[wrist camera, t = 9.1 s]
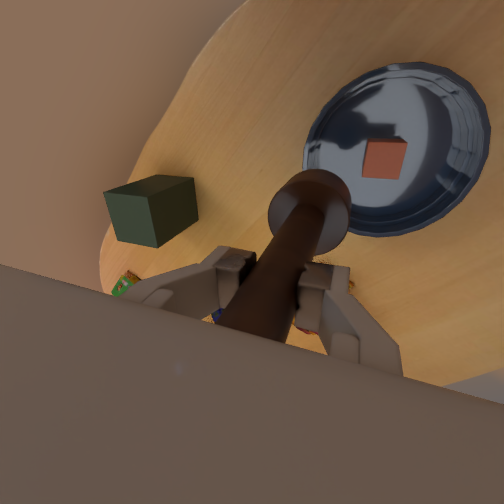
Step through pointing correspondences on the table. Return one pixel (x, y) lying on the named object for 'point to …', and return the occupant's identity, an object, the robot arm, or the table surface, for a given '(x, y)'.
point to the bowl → (418, 149)
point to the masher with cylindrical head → (290, 252)
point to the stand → (152, 209)
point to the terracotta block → (384, 158)
